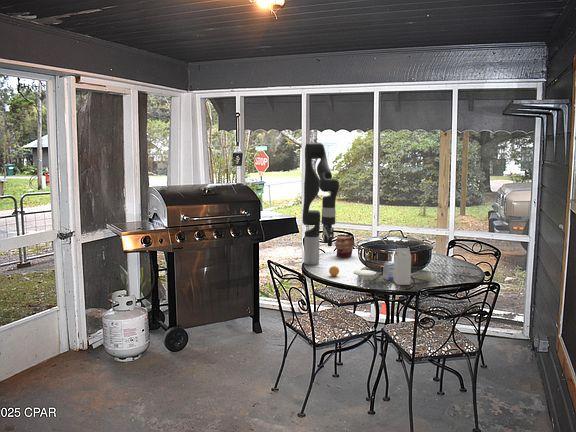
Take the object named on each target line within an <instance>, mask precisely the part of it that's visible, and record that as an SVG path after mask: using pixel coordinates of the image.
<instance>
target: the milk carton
mask: <svg viewBox="0 0 576 432" xmlns="http://www.w3.org/2000/svg"><path fill="white" fill-rule="evenodd" d="M393 263H394V274H393V280H392V281H393V283H395V284H396V285H399V286H400V285H401V286H403V285H404V286H405V285H406V286H407V285H411V272H412V271H411V269H412V254H411V251H410V248H409V247H407V248H405V247H404V248H402V247H398V248H396V251H395V252H394V254H393Z"/></svg>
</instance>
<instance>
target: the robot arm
mask: <svg viewBox="0 0 576 432" xmlns="http://www.w3.org/2000/svg"><path fill="white" fill-rule="evenodd" d="M327 157H328V156H327V152H326V148H325V146H324V144H323V143H322V142H307V143H305V147H304V166H305V167H304V183H303V209H302V218H301V219H302V223H303V225H304V226H313V227H312V228H310V229H308V230H305V232H304V244H303V245H304V247H303V248H304V249H303V250H304V251H303V264H304V265H309V266H315V265H319V263H320V236H321V235H320V231H321V230H320V227H321V225H322V236H323V243H324V244H327V247H329V248H330V247H333V246H332V245H333V240H334V239H335V237H334V236H335V235H334V233H335V232H334V230H335V228H334V227H332V226H334V225H336V215H337V213H336V200H337V196H338V191H339V188H340V181H339V180H338V179H337V178H333V174H332V171H331V168H330V167H329V163H328V158H327ZM315 159H316V160H317V159H320V160H319V162H318V164H317V167H316V171H315V169H314V167H313V164H312V160H315ZM320 191H321V192H323V193H326V192H327V193H328V192H329V193H330V194H328V195H324V196H323V197H322V200H321V201H322V204H321V205H322V206H321V212H320V210H315V209H314V210H312V209H310V206H311V204H312V202H313V201H314V200H315V198H316V197H317V196H318V195H319V192H320Z"/></svg>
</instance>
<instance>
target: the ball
mask: <svg viewBox="0 0 576 432" xmlns="http://www.w3.org/2000/svg"><path fill="white" fill-rule="evenodd" d="M328 271H329V272H328V273H329V274H330V275H331V276H332V277H336V276H338V275H339V273H340V269H339V267H337V266H336V265H332V266H330V267H329V270H328Z"/></svg>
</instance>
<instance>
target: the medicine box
mask: <svg viewBox="0 0 576 432" xmlns="http://www.w3.org/2000/svg"><path fill="white" fill-rule="evenodd" d="M382 267H383V269H382V279H383V280H386V281H393V274H394V262H385V263H383V266H382Z"/></svg>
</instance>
